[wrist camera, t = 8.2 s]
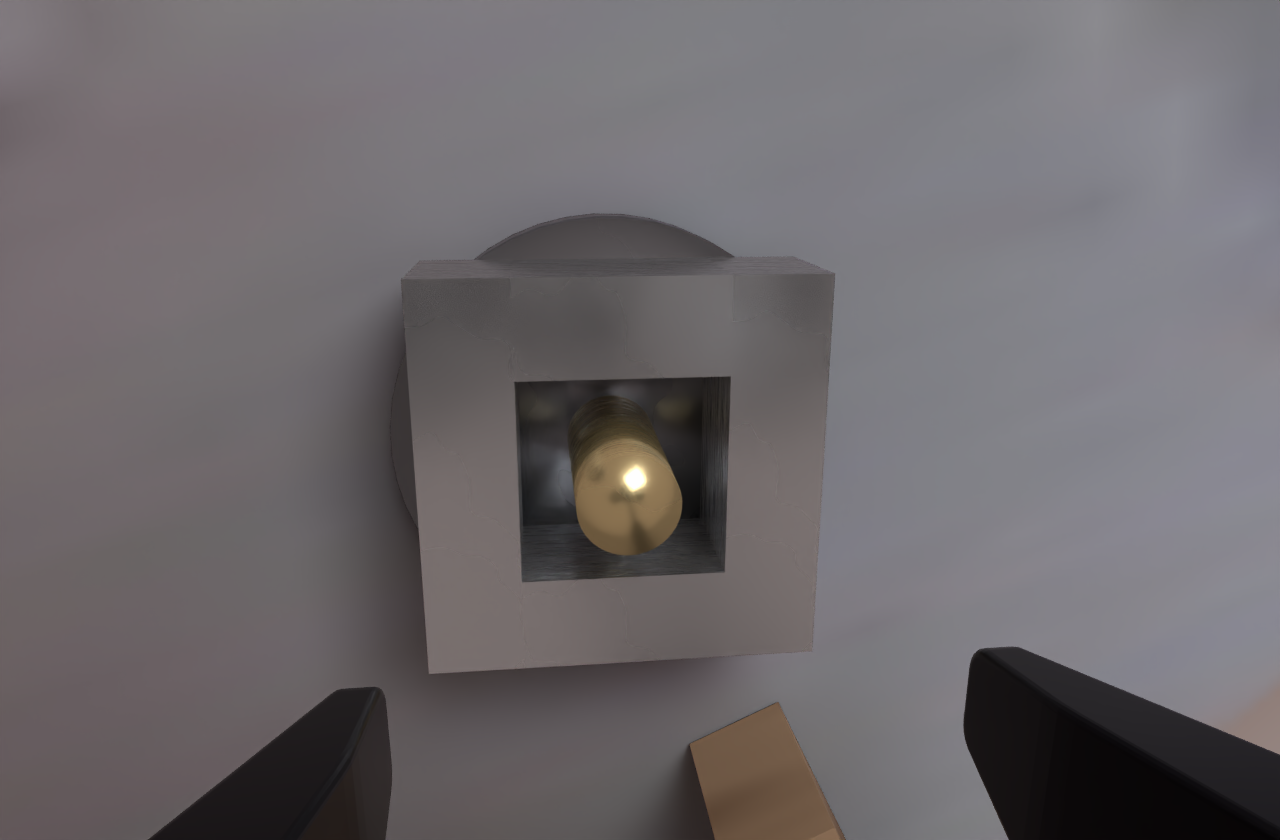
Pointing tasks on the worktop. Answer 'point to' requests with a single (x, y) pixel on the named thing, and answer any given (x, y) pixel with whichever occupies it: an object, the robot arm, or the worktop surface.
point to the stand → (761, 782)
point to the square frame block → (561, 553)
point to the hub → (596, 412)
